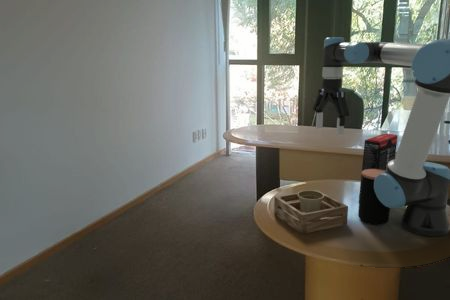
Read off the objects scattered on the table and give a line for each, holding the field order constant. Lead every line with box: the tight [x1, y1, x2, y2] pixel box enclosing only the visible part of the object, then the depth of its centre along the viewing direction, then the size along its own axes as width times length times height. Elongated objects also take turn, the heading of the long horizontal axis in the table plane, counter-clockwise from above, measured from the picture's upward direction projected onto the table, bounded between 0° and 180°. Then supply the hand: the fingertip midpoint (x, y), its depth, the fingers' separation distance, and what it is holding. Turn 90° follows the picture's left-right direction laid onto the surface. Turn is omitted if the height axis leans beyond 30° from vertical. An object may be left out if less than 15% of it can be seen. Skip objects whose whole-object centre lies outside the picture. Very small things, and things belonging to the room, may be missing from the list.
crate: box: [273, 189, 349, 235], centre depth 146 cm, size 19×19×7 cm
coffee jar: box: [357, 169, 391, 226], centre depth 143 cm, size 11×11×18 cm
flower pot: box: [297, 189, 324, 213], centre depth 145 cm, size 9×9×9 cm
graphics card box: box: [358, 133, 399, 199], centre depth 160 cm, size 17×7×27 cm, turn 136°
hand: (329, 131), depth 161 cm, fingers open, 13 cm apart
